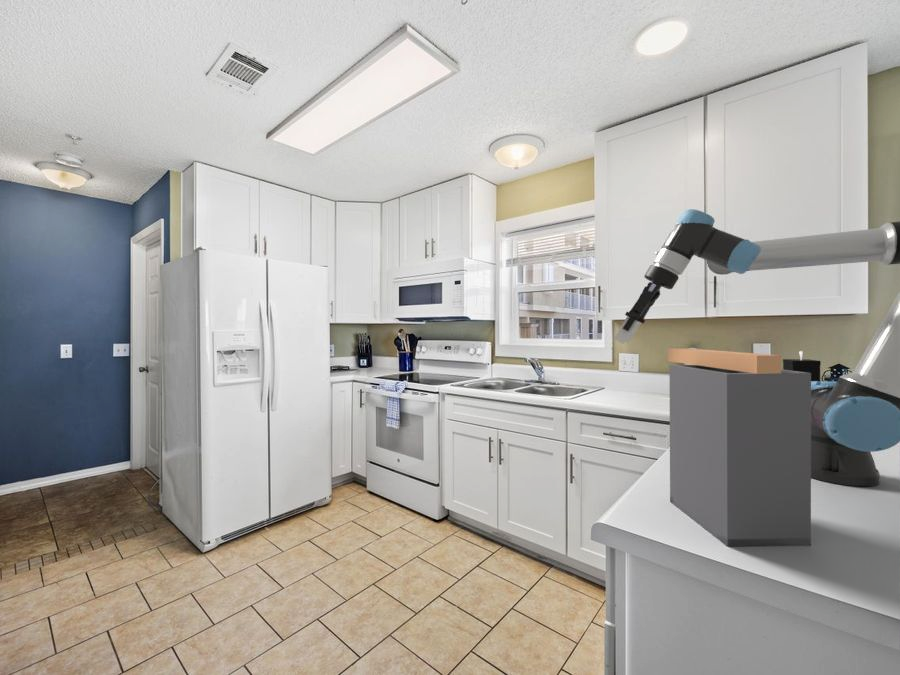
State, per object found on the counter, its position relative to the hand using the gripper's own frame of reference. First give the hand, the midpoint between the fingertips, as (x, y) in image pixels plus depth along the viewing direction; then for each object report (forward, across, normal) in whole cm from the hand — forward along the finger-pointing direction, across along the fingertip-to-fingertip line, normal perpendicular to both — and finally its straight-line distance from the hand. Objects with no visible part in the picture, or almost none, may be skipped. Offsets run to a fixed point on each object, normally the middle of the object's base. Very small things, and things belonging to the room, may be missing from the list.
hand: (621, 341), depth 111 cm
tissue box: (+2, -67, +62) cm, 91 cm away
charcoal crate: (+18, +26, +36) cm, 48 cm away
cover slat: (-6, +22, +19) cm, 30 cm away
